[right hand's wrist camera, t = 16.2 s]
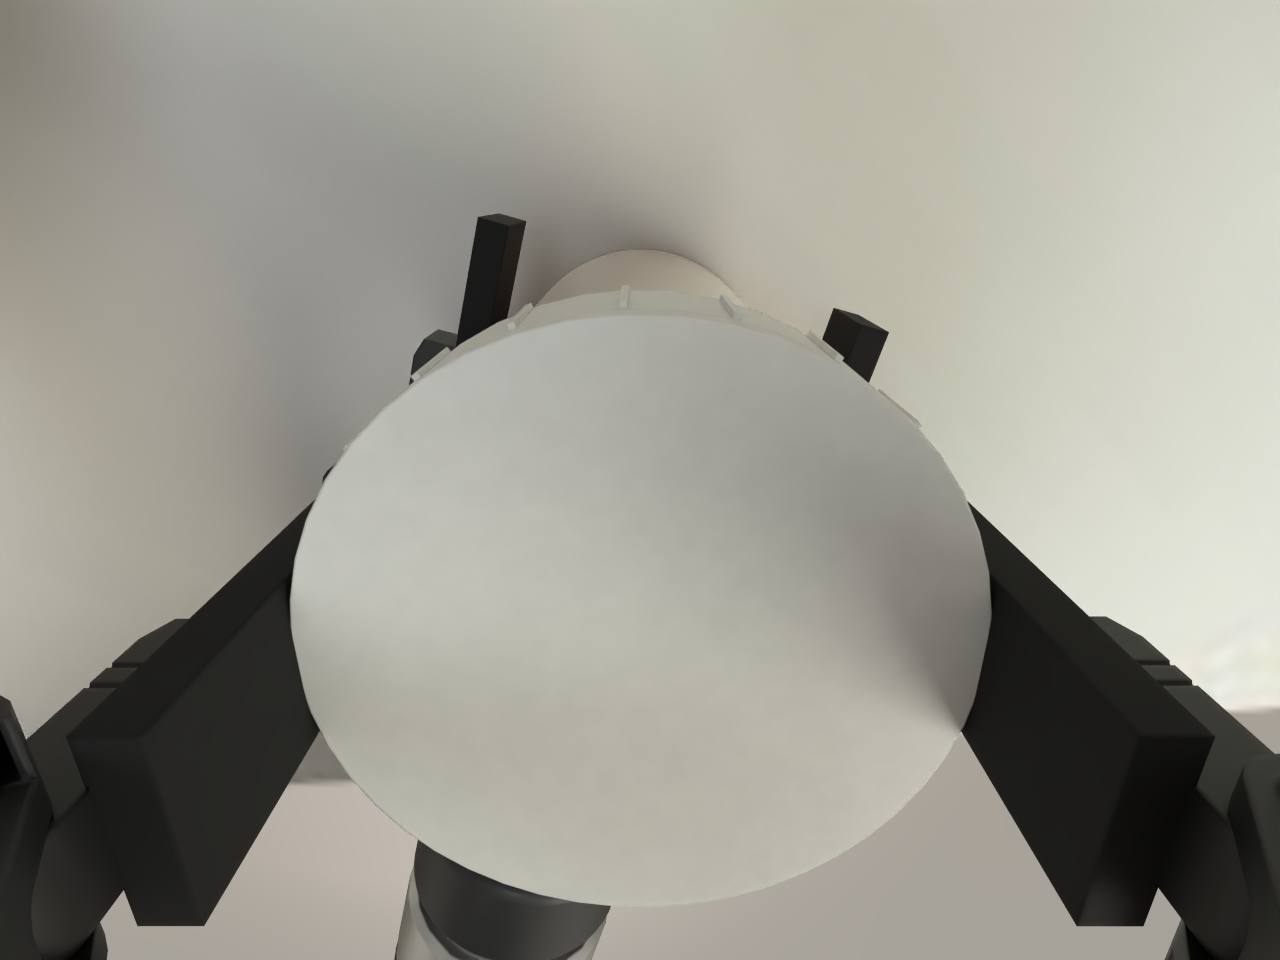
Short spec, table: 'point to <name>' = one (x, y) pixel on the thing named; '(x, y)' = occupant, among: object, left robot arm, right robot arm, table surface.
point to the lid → (640, 602)
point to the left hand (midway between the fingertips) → (685, 270)
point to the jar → (639, 276)
